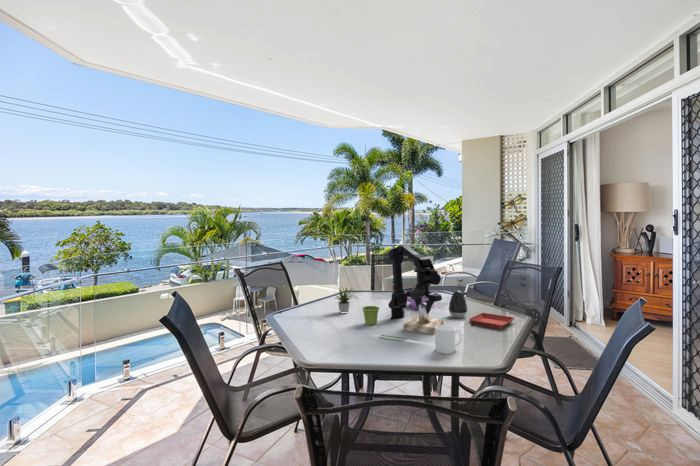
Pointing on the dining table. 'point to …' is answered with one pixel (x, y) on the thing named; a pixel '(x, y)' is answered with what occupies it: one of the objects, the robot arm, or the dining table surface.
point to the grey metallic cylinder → (423, 312)
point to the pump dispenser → (458, 304)
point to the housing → (422, 325)
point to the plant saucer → (491, 320)
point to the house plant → (344, 300)
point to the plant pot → (370, 314)
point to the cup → (446, 339)
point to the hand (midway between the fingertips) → (423, 312)
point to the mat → (392, 338)
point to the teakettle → (414, 301)
